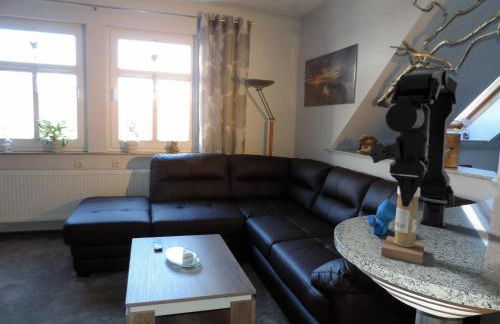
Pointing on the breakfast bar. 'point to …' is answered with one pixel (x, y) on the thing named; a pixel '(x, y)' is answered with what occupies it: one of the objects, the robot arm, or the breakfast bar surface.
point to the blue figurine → (382, 217)
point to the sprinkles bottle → (406, 221)
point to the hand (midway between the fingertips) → (407, 202)
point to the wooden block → (403, 251)
